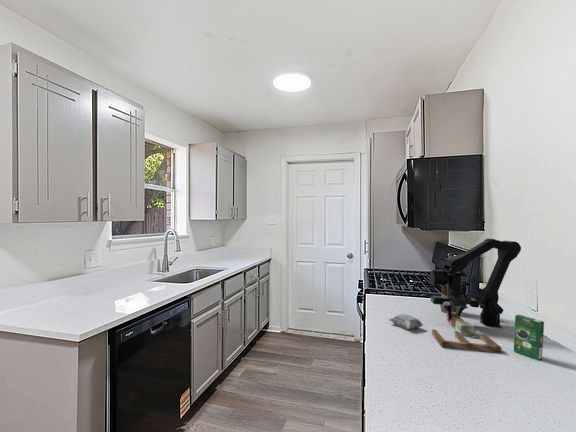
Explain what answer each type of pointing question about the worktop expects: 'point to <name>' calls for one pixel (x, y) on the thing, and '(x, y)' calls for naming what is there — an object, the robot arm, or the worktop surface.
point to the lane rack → (467, 343)
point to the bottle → (444, 293)
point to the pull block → (461, 325)
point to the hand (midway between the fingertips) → (453, 320)
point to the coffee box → (528, 336)
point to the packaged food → (406, 321)
